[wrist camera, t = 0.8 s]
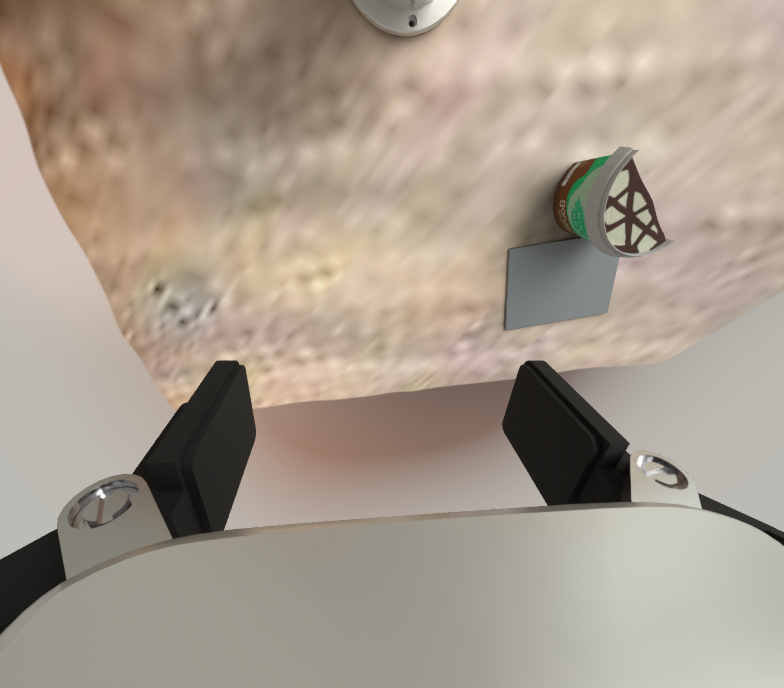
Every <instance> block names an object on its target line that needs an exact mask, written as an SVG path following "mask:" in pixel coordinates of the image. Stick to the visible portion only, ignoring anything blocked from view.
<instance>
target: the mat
mask: <svg viewBox="0 0 784 688" xmlns="http://www.w3.org/2000/svg"><path fill="white" fill-rule="evenodd" d="M618 261H619V257H613V256H609V255H606V254H604V253H602V252H601V251H599V250H598V249H597V248H596V247H595V246H594V245H593V244H592V242H591V241H589V240H586V239H584V238H581V237H580V238H574V239H568V240H562V241H555V242H549V243H543V244H537V245H531V246H524V247H518V248H512V249H509V251H508V272H507V293H506V314H505V330H512V329H517V328H523V327H529V326H534V325H540V324H546V323H552V322H557V321H563V320H569V319H575V318H580V317H586V316H592V315H598V314H603V313H607V312H608V307H609V303H610V298H611V293H612V289H613V284H614V279H615V275H616V270H617V265H618Z"/></svg>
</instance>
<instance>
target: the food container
mask: <svg viewBox="0 0 784 688" xmlns="http://www.w3.org/2000/svg"><path fill="white" fill-rule="evenodd" d="M638 151H639V150H633V149H632V148H627V147H619V148H618V149H617V150H616V151H615V152H614V153H613V154H612V155H609V156H604V157H600V158H595V159H590V160H586V161H581V162H576V163H574V164H573V165H572V166H571V167H570V168H569V169H568V170H567V172H566V173H565V175H564V176H563V178H562V179H561V181H560V182H559V185H558V187H557V190H556V193H555V196H554V206H553V211H554V216H555V219H556V221H557V223H558V225H559V226H560V227H561V228H562V229H563V230H565V231H567V232H569V233H571V234H574V235H576V236H579V237H581V238H584V239H586V240H589V241H591V242H592V244H593V245H594V246H595V247H596V248H597V249H598V250H599V251H601V252H602V253H604V254H606V255H609V256H613V257H640V256H645V255H649V254H653V253H655V252H658V251H660V250H662V249H664V248H666V247H668V246H669V245H671V244H672V243H674V242H675V241H672V240H668V239H665V236H664V233H663V232H662V230H661V228H660V225H659V223H658V220H657V216H656V212H655V208H654V204H653V201H652V199H651V197H650V195H649V193H648V191H647V189H646V188H645V186H644V184H643V182H642V180H641V178H640V176H639V173H638V171H637V168H636V166H635V163H634V161H633V158H632V157H633V156H634V155H635V154H636V153H637V152H638Z"/></svg>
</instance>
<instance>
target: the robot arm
mask: <svg viewBox="0 0 784 688" xmlns="http://www.w3.org/2000/svg"><path fill="white" fill-rule="evenodd" d="M352 1H353V3H354V4H355V6H356V8H357V9H358V10H359V11H360V12H361V13H362V15H363V16H364V17H365V18H366V19H367V20H368V21H369V22H371V23H372V24H373V25H375V26H376V27H377V28H378V29H381V30H383V31H385V32H387V33H389V34H392V35H397V36H402V37H403V36H416V35H419V34H422V33H425V32H427V31H429V30H431V29H432V28H434V27H435V26H437V25H438V24H439V23H440V22H442V21H443V20H444V19H445V18H446V17H447V16H448V15H449V13H450V12H451V10H452V9H453V8H454V6H455V5H456V3H457V2H458V0H352ZM409 22H412V23H413V25H414V26H413V27H410V26H409ZM502 426H503V430H504V433H505V434H506V436H507V438H508V440H509V441H510V443H511V444H512V446H513V448H514V450H515V451H516V453H517V455H518V456H519V458H520V460H521V461H522V463H523V465H524V466H525V468H526V470H527V471H528V473H529V475H530V477H531V478H532V480H533V481H534V483H535V485H536V487H537V488H538V490H539V492H540V493H541V495H542V496H543V498H544V500H545V502H546V503H547V505H548V506H538V507H522V508H508V509H491V510H477V511H463V512H448V513H434V514H420V515H406V516H392V517H379V518H365V519H352V520H339V521H325V522H312V523H300V524H287V525H277V526H266V527H255V528H244V529H233V530H225V531H224V528H225V525H226V523H227V519H228V517H229V514H230V511H231V508H232V505H233V502H234V499H235V496H236V494H237V490H238V488H239V485H240V482H241V478H242V476H243V473H244V470H245V467H246V465H247V462H248V459H249V456H250V453H251V450H252V447H253V444H254V441H255V437H256V427H255V422H254V416H253V410H252V404H251V398H250V392H249V386H248V380H247V374H246V369H245V366H244V365H239V363H238V361H216V362H215V363H214V365H213V366H212V368H211V369H210V371H209V372H208V374H207V375H206V377H205V378H204V379H203V381H202V382H201V384H200V385H199V387H198V388H197V390H196V391H195V392H194V394H193V395H192V397H191V398H190V400H189V401H188V403H184V404H182V405H181V406H180V407H179V409H178V410H177V412H176V413H175V414H174V416H173V417H172V419H171V420H170V422H169V423H168V424H167V426H166V427H165V429H164V430H163V431H162V433H161V434H160V436H159V437H158V438H157V440H156V441H155V443H154V444H153V445H152V447H151V448H150V450H149V451H148V452H147V454H146V455H145V457H144V458H143V460H142V461H141V462H140V464H139V465H138V467H137V468H136V469H135V471H134V472H133V474H122V475H116V476H112V477H109V478H106V479H103V480H100V481H98V482H96V483H94V484H92V485H91V486H89V487H87V488H85V489H84V490H82V491H81V492H80V493H78V494H77V495H76V496H74V497H73V498H72V499H71V500H70V501H69V502H68V504H66V506H65V507H64V508H63V510H62V512H61V513H60V515H59V517H58V522H57V529H56V530H54V531H52V532H50V533H48V534H46V535H45V536H43V537H41V538H39V539H37V540H35V541H34V542H32V543H30V544H28V545H26V546H25V547H23V548H21V549H19V550H17V551H15V552H14V553H12V554H10V555H8V556H6V557H4V558H2V559H1V560H0V688H784V532H782V531H780V530H777V529H776V528H774V527H771V526H770V525H767V524H765V523H763V522H761V521H759V520H756V519H754V518H752V517H750V516H748V515H745V514H743V513H741V512H739V511H737V510H734V509H732V508H730V507H728V506H726V505H723V504H721V503H719V502H717V501H714V500H712V499H710V498H708V497H706V496H704V495H701V494H699V493H698V492H697V488H696V484H695V482H694V480H693V478H692V477H691V476H690V475H689V474H688V473H687V472H686V471H685V470H684V469H683V468H681V467H680V466H679V465H678V464H676V463H675V462H673V461H671V460H670V459H668V458H666V457H664V456H661V455H659V454H656V453H653V452H649V451H635V452H634V453H632V454H631V455H630V454H629V453H627V451H626V449H627V447H628V446H629V444H630V443H629V442H627V440H626V439H625V438H624V437H622V435H620V434H619V433H618V432H617V431H616V430H615V429H614V428H613V427H612V426H611V425H610V424H609V423H608V422H607V421H606V420H605V419H604V418H603V417H602V416H601V415H600V414H599V413H598V412H597V411H596V410H595V409H594V408H593V407H592V406H591V405H590V404H588V402H586V401H585V400H584V399H583V398H582V397H581V396H580V395H579V394H578V393H577V392H576V391H575V390H574V389H573V388H572V387H571V386H570V385H569V384H568V383H567V382H566V381H565V380H564V379H563V378H562V377H561V376H560V375H559V374H558V373H557V372H556V371H555V370H554V369H552V368H551V367H550V366H549V365H548V364H547V363H546V362H545V361H526V362H525V363H524V365H521V366H520V368H519V371H518V374H517V377H516V381H515V384H514V387H513V390H512V393H511V397H510V400H509V403H508V406H507V409H506V413H505V416H504V419H503V423H502Z"/></svg>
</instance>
